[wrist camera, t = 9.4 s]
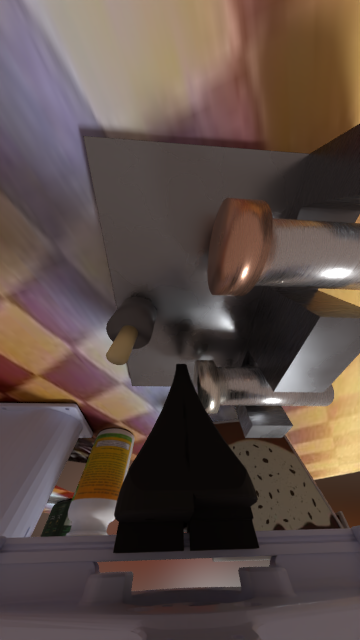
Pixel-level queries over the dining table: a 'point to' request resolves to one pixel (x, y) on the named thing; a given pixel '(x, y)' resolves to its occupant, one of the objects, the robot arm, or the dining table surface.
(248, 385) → the silver long cylinder
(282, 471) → the food container
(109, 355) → the potentiometer
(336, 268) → the copper-capped metal rod
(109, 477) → the supplement bottle
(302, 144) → the dining table surface
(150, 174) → the mount
